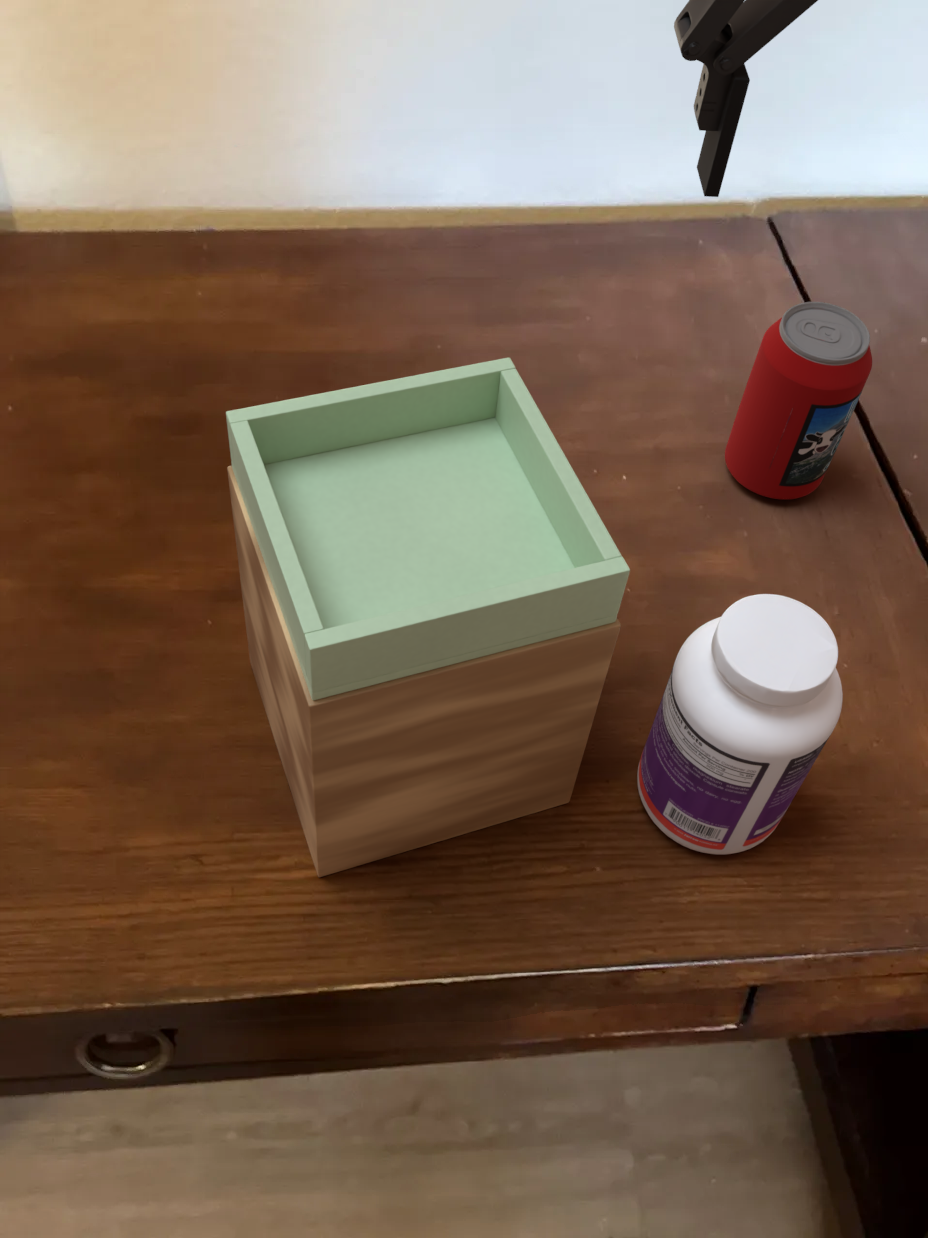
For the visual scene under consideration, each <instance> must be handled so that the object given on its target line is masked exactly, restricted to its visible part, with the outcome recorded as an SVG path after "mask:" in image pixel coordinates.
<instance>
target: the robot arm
mask: <svg viewBox="0 0 928 1238" xmlns="http://www.w3.org/2000/svg"><path fill="white" fill-rule="evenodd" d="M818 1H819V0H688V1H687V3H686V4H685V6H684V7H683V8H682V9H681V11H680V13H678V15H677V16H676V17H675V20H674V23H673V24H674V25H673V29H674V32H675V36H676V40H677V44H678V48H679V50H680V53H681V56H682V58H683V59H684V60H685V61H687V62H694V61H695V62H696V61H698V62H700V63H701V64H703V65H702V69H701V72H700V78H699V81H698V86H697V90H696V94H695V97H694V103H693V111H694V116H695V120H696V123H697V127H698V130H699V131H705V133H704V136H703V141H702V144H701V149H700V153H699V156H698V160H697V165H696V171H697V173H698V178H699V181H700V185H701V189H702V193H703V196H704V197H710V198H711V197H712V198H713V197H714V198H719V197H720V191H721V188H722V184H723V181H724V177H725V173H726V170H727V167H728V162H729V159H730V155H731V151H732V148H733V144H734V140H735V136H736V133H737V129H738V125H739V122H740V118H741V114H742V111H743V107H744V103H745V99H746V96H747V93H748V89H749V86H750V81H751V79H750V75H749V74H748V73H749V72H748V70H747V68H746V62H748V61H749V60H750V59H751V58H752V57H754V56H755V55H756V54H757V53H758V52H759V51H760V50H762V49H763V48H764V47H765V46H767V44H769V43H770V42H771V41H772V40H773V39H775V38H776V37H777V36H778V35H779V34H781V32H783V31H784V30H785V29H786V28H787V27H789V26H790V25H791V24H792V23H794V21H796V20H797V19H798V18H799V17H801V16H802V15H803V14H804V13H805V12H806V11H808V10H809V9H810V8H811V7H812V6H813V5H814V4H816V3H817V2H818Z"/></svg>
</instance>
